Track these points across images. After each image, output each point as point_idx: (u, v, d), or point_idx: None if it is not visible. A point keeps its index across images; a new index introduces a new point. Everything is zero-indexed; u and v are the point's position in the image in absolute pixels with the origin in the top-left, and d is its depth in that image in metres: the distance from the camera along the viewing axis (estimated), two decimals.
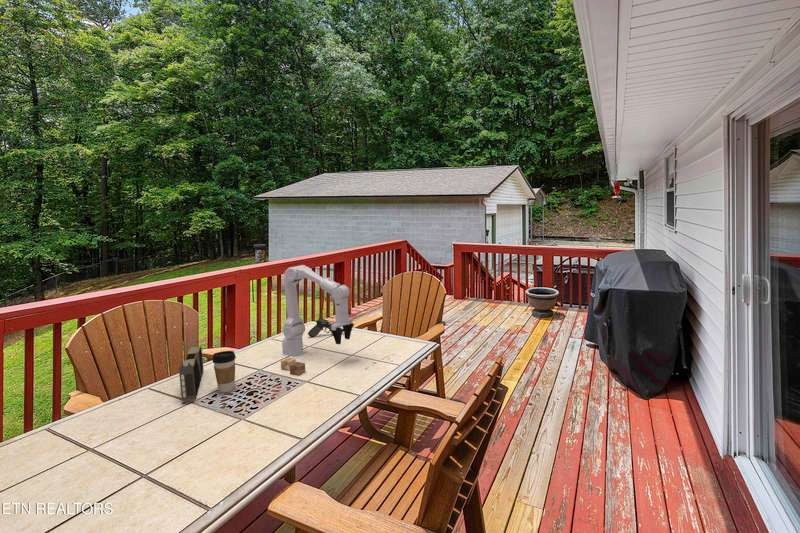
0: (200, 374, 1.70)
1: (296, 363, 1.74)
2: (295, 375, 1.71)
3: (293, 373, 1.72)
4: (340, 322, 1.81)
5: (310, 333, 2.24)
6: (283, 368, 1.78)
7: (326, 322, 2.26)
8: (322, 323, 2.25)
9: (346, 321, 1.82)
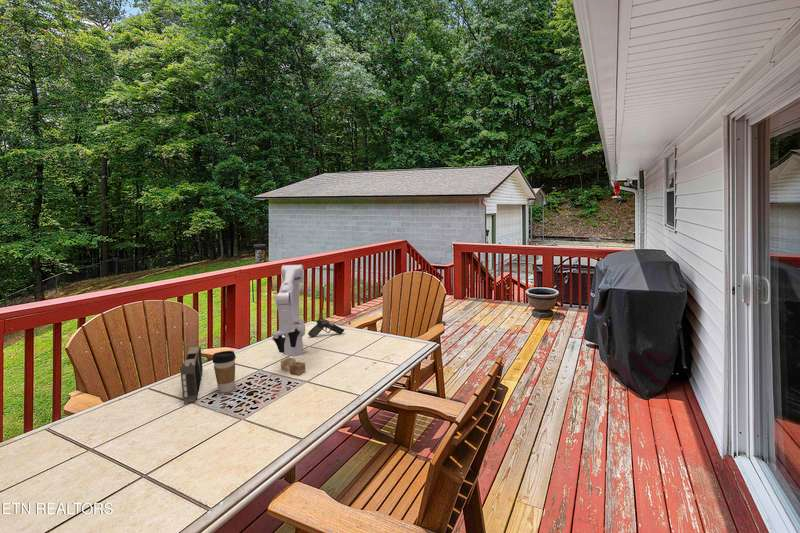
0: (200, 374, 1.70)
1: (296, 363, 1.74)
2: (295, 375, 1.71)
3: (293, 373, 1.72)
4: (283, 330, 1.74)
5: (310, 333, 2.24)
6: (283, 368, 1.78)
7: (326, 322, 2.26)
8: (322, 323, 2.26)
9: (290, 328, 1.75)
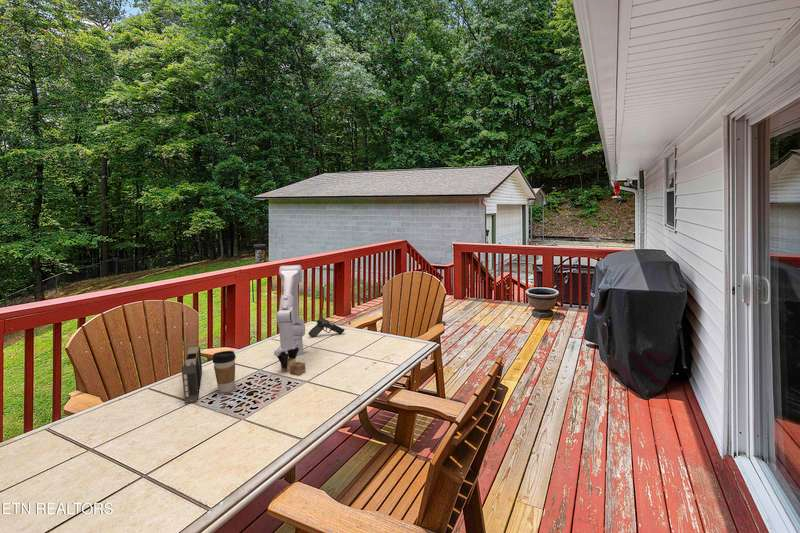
0: (200, 374, 1.70)
1: (296, 363, 1.74)
2: (295, 375, 1.71)
3: (293, 373, 1.72)
4: (284, 347, 1.75)
5: (311, 333, 2.24)
6: (283, 368, 1.78)
7: (327, 322, 2.26)
8: (323, 323, 2.26)
9: (291, 346, 1.76)
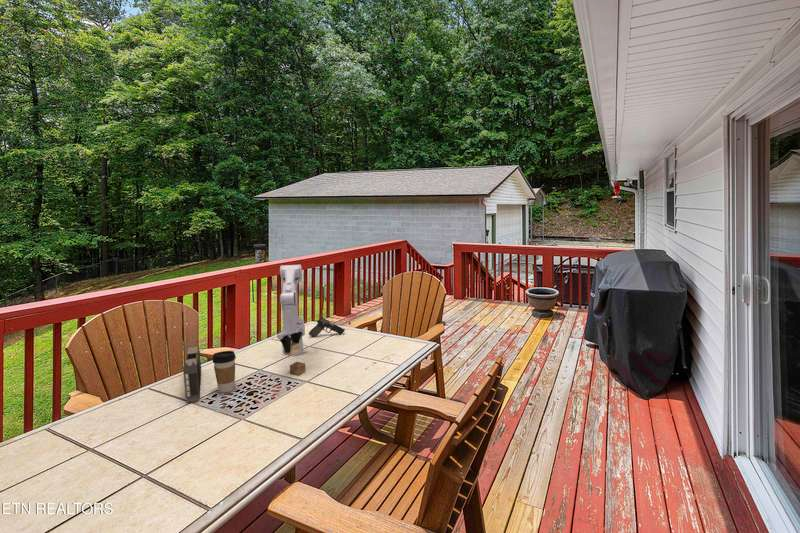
0: (200, 374, 1.70)
1: (296, 363, 1.74)
2: (295, 375, 1.71)
3: (293, 373, 1.72)
4: (287, 330, 1.71)
5: (311, 333, 2.24)
6: (286, 353, 1.74)
7: (327, 322, 2.26)
8: (323, 323, 2.26)
9: (294, 329, 1.72)
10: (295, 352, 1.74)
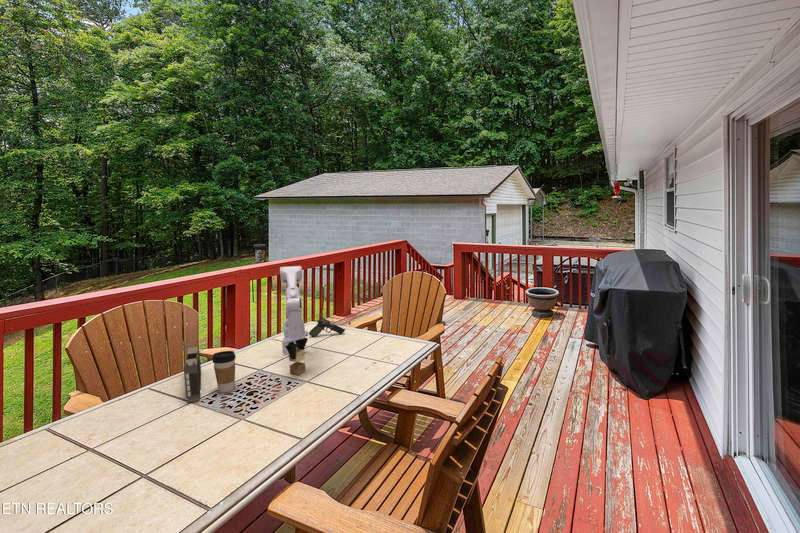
0: (200, 374, 1.70)
1: (296, 363, 1.74)
2: (295, 375, 1.71)
3: (293, 373, 1.72)
4: (293, 337, 1.68)
5: (311, 333, 2.25)
6: (291, 360, 1.71)
7: (327, 322, 2.26)
8: (323, 323, 2.26)
9: (299, 335, 1.69)
10: (300, 358, 1.71)
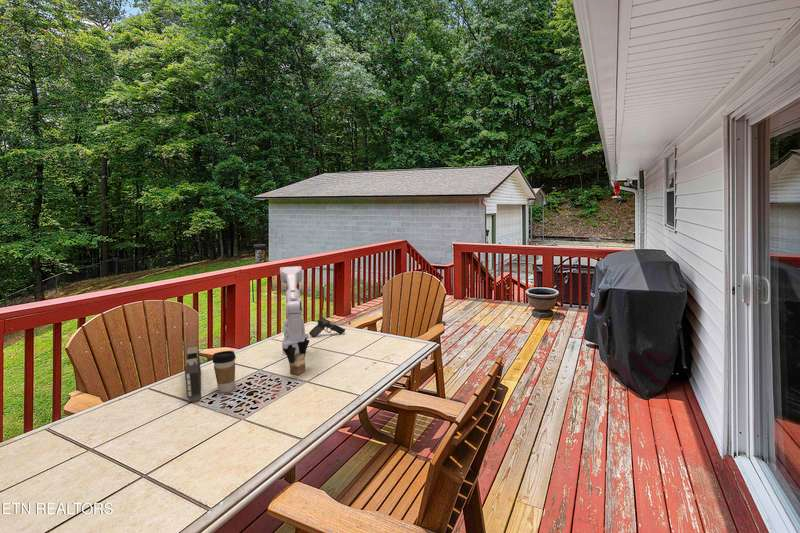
0: (200, 374, 1.70)
1: None
2: (295, 375, 1.71)
3: (293, 373, 1.72)
4: (293, 339, 1.69)
5: (311, 333, 2.25)
6: (292, 364, 1.71)
7: (327, 322, 2.26)
8: (323, 323, 2.26)
9: (300, 338, 1.70)
10: (301, 363, 1.72)
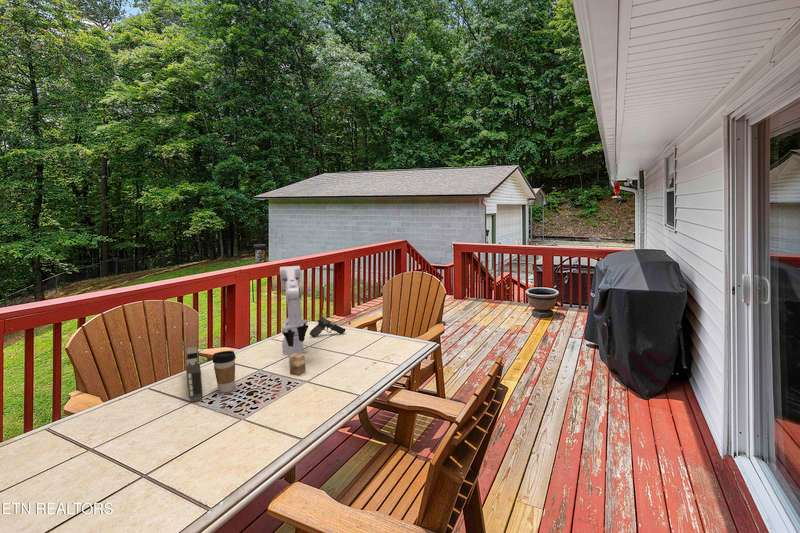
0: None
1: None
2: (295, 375, 1.71)
3: (293, 373, 1.72)
4: (292, 324, 1.78)
5: (312, 333, 2.25)
6: (292, 364, 1.71)
7: (328, 322, 2.26)
8: (324, 323, 2.26)
9: (299, 323, 1.80)
10: (301, 363, 1.72)
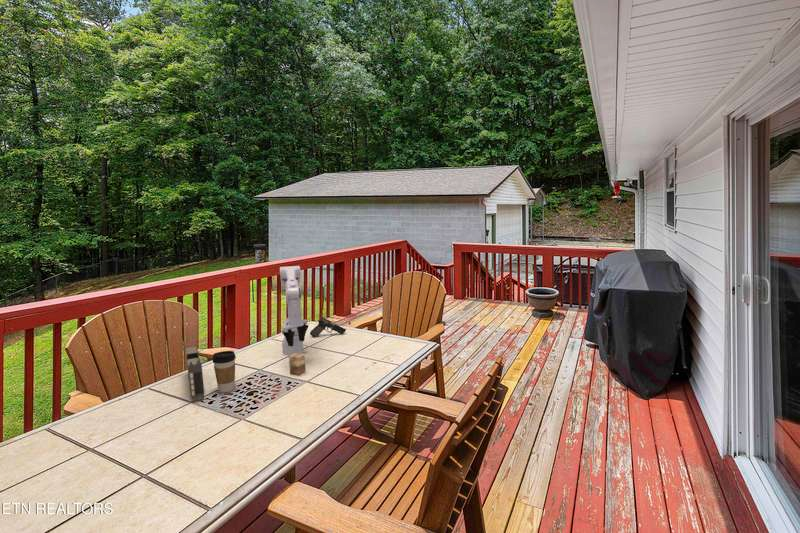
0: None
1: None
2: (295, 375, 1.71)
3: (293, 373, 1.72)
4: (292, 324, 1.78)
5: (312, 333, 2.25)
6: (292, 364, 1.71)
7: (328, 322, 2.26)
8: (324, 323, 2.26)
9: (299, 323, 1.80)
10: (301, 363, 1.72)
